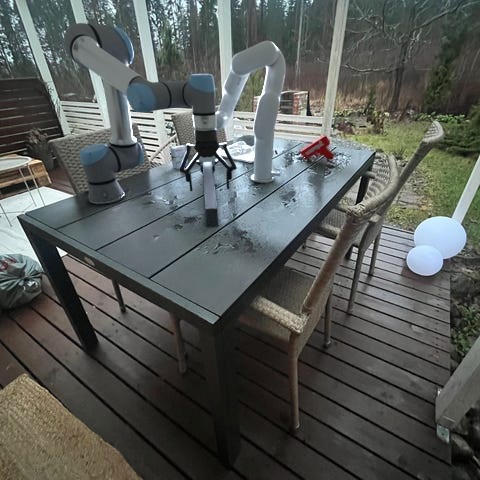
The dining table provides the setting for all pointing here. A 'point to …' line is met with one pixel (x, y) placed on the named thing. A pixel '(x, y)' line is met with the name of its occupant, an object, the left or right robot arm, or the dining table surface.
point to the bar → (210, 196)
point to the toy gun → (318, 149)
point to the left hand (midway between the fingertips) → (209, 189)
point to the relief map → (239, 152)
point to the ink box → (178, 156)
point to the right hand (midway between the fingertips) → (208, 172)
